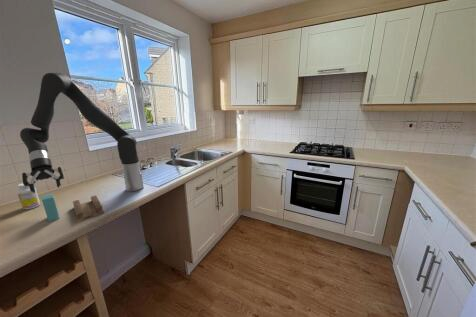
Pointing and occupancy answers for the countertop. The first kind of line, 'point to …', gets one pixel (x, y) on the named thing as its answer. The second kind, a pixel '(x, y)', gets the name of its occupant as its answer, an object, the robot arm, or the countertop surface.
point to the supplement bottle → (28, 197)
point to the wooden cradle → (88, 208)
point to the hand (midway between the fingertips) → (46, 189)
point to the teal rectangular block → (50, 207)
